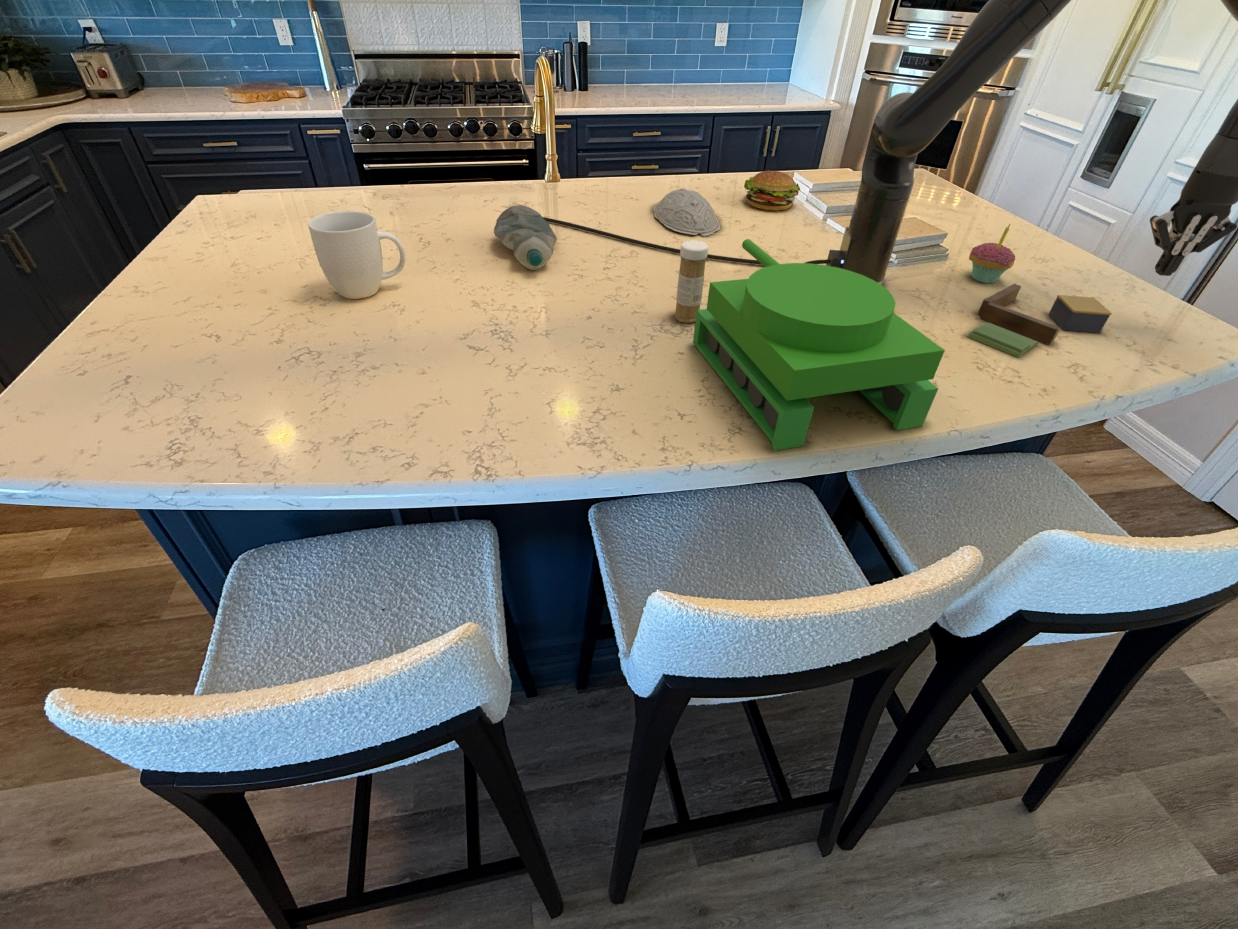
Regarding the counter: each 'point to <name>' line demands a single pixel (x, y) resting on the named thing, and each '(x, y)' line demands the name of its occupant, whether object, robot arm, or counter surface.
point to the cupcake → (991, 260)
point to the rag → (1002, 339)
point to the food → (771, 190)
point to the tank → (813, 346)
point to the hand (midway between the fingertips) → (1162, 273)
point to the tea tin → (1079, 313)
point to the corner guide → (1015, 317)
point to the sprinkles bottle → (690, 280)
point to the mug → (352, 252)
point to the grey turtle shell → (687, 213)
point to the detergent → (526, 235)
